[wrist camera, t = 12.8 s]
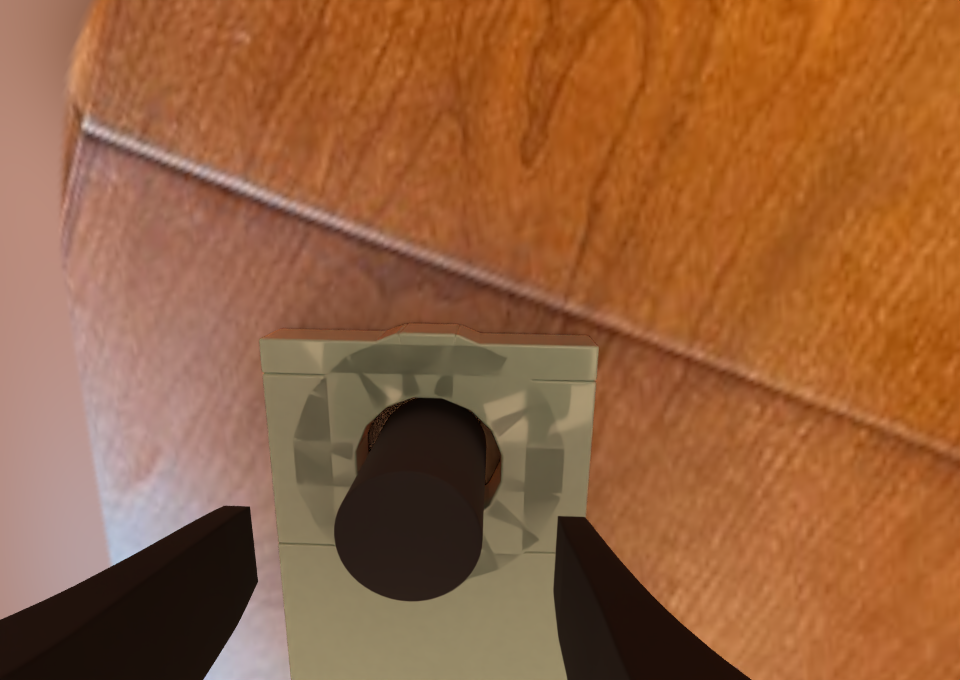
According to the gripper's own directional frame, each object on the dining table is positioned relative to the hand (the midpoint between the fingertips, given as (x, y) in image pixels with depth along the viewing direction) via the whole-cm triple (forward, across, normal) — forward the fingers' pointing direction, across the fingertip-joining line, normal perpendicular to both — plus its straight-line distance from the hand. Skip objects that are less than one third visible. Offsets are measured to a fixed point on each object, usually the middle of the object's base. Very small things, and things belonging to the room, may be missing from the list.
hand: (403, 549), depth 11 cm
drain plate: (+5, 0, +6) cm, 8 cm away
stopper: (+5, 0, 0) cm, 5 cm away
